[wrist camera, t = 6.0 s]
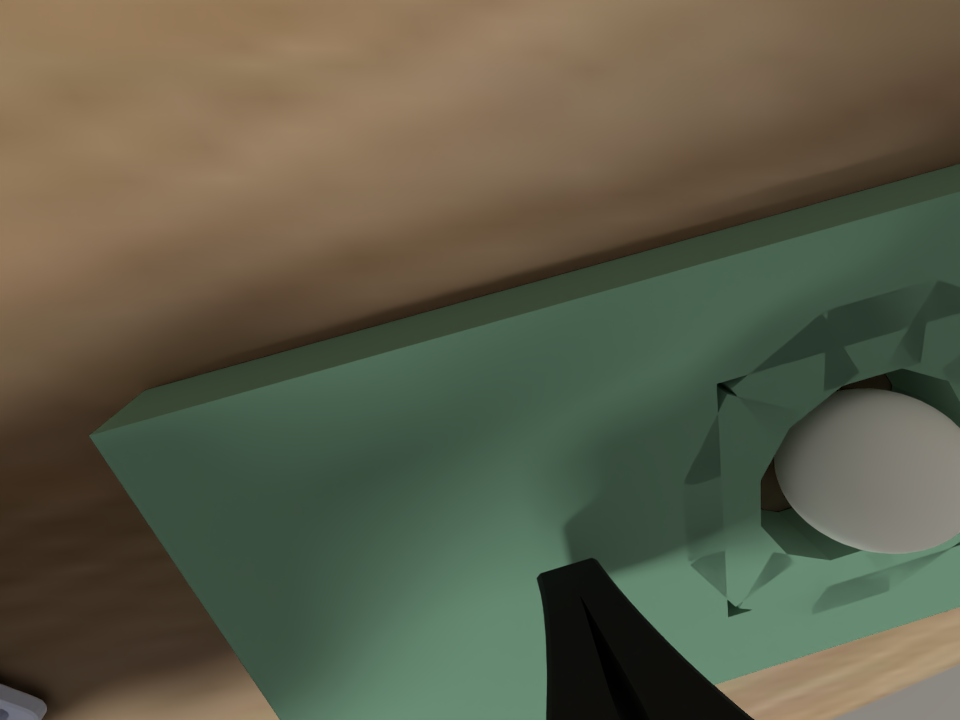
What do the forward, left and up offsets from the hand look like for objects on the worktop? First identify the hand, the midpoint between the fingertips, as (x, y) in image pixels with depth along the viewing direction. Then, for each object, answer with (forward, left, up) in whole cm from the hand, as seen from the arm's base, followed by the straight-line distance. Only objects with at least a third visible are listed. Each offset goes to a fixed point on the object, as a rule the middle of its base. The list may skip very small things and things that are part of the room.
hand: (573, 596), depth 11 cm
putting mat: (+2, +3, -3) cm, 4 cm away
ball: (+4, +7, -1) cm, 8 cm away
